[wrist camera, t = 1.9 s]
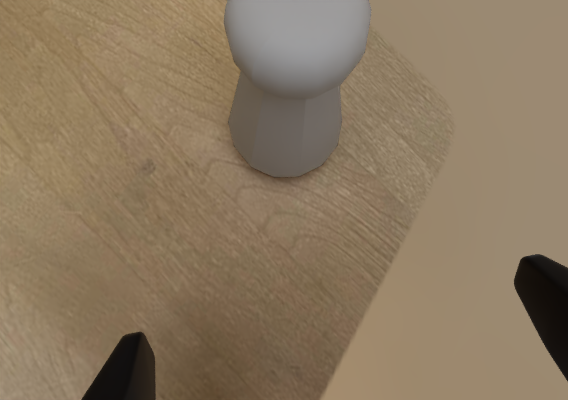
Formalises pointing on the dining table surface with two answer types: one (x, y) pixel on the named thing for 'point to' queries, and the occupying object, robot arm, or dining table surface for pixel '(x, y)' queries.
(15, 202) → the dining table surface
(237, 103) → the salt shaker
